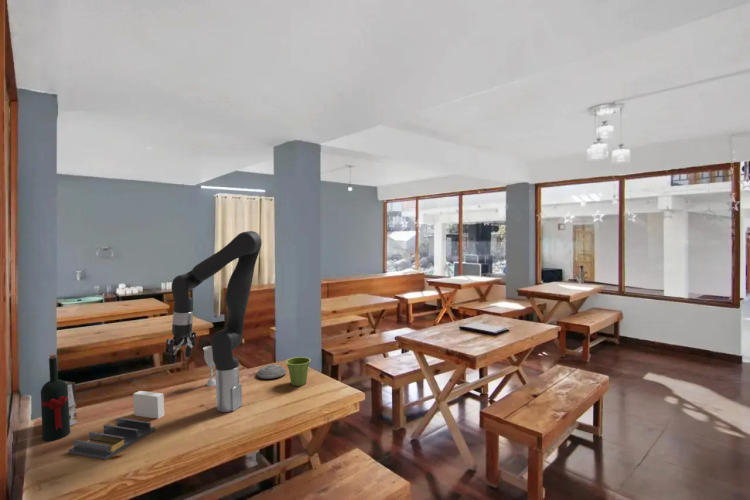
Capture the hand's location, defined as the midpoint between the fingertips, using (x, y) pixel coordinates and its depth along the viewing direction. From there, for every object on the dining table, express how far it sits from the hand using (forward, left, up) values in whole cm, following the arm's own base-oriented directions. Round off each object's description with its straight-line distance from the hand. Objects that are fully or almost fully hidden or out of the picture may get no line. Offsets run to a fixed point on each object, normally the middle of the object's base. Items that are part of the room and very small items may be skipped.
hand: (180, 359), depth 163 cm
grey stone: (-17, -43, -21) cm, 51 cm away
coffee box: (+35, +24, -21) cm, 47 cm away
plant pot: (-36, -36, -21) cm, 55 cm away
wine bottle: (+27, +31, -21) cm, 46 cm away
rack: (+4, +28, -21) cm, 35 cm away
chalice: (+5, -25, -21) cm, 33 cm away
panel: (+8, +9, -21) cm, 24 cm away
